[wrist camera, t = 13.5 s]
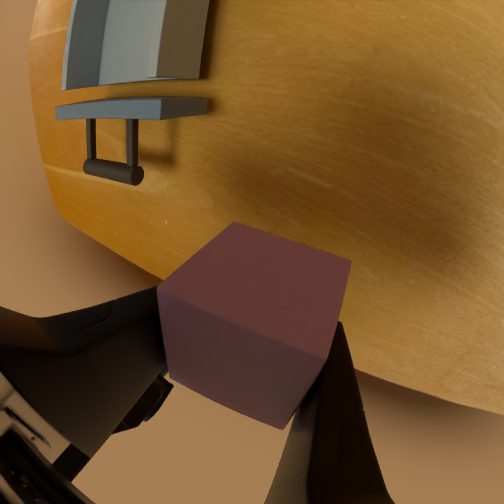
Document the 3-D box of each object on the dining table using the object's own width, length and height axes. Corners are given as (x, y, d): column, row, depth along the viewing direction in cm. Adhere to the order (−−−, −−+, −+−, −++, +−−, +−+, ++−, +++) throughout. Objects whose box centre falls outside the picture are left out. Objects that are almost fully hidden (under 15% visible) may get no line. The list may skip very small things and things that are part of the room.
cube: (316, 344, 10) (282, 431, 7) (224, 308, 11) (168, 378, 8) (352, 259, 8) (327, 359, 5) (233, 220, 9) (154, 286, 6)
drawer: (201, 180, 20) (158, 201, 16) (98, 159, 23) (58, 174, 19) (240, -88, 7) (207, -115, 3) (123, -51, 11) (86, -60, 7)
